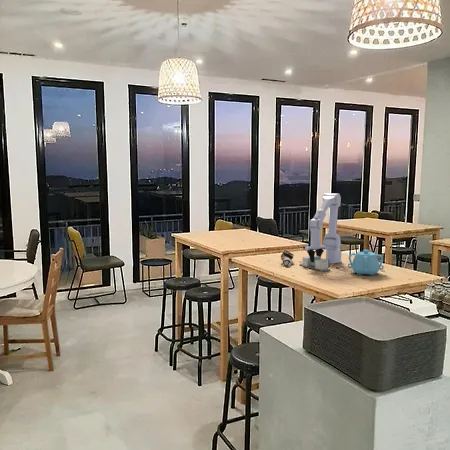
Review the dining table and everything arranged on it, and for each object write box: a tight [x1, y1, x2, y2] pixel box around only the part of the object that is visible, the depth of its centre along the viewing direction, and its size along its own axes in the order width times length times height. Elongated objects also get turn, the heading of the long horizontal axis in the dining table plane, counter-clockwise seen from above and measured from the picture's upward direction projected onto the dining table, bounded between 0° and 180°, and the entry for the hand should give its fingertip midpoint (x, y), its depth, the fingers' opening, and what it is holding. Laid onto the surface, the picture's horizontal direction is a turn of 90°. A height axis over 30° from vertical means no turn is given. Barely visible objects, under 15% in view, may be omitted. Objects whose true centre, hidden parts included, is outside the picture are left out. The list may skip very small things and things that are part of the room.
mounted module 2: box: [315, 258, 329, 270], centre depth 268 cm, size 6×4×5 cm
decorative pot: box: [347, 249, 385, 276], centre depth 258 cm, size 16×16×14 cm
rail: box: [299, 262, 331, 273], centre depth 274 cm, size 5×22×1 cm, turn 30°
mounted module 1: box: [302, 255, 312, 266], centre depth 278 cm, size 6×4×5 cm
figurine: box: [280, 249, 295, 268], centre depth 285 cm, size 9×8×15 cm
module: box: [310, 254, 322, 266], centre depth 273 cm, size 4×5×6 cm
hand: (315, 261), depth 273 cm, fingers closed on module, 4 cm apart
